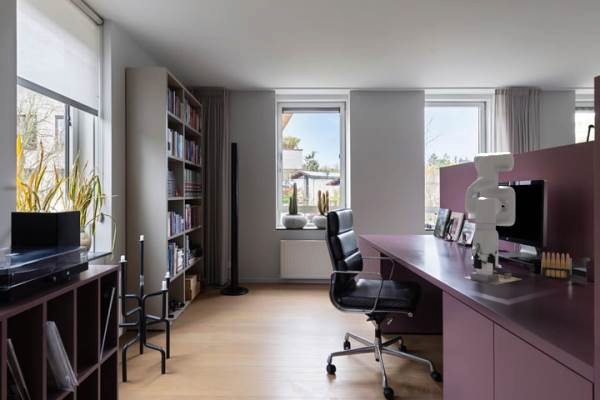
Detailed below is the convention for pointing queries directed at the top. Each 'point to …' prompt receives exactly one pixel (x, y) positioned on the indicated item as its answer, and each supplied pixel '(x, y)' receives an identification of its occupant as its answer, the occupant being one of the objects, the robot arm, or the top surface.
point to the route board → (501, 278)
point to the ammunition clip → (557, 271)
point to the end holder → (484, 277)
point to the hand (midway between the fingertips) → (484, 267)
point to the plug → (485, 269)
